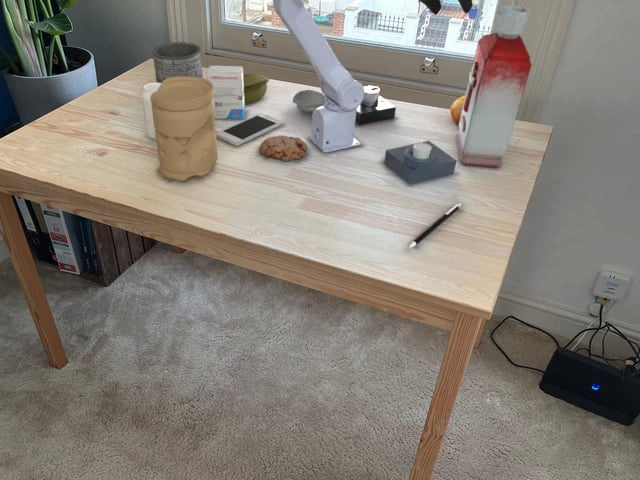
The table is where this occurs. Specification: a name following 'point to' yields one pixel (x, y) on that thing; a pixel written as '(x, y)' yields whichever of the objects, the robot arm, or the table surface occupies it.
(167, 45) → the planter
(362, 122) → the tap plate
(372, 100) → the rotary dial knob
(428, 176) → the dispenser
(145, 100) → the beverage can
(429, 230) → the pen
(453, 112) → the fruit
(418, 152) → the white short cylinder
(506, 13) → the bottle
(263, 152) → the cookie
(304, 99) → the seashell
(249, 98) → the olive green bowl
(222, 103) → the ink box
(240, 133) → the smartphone
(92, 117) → the table surface
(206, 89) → the container
